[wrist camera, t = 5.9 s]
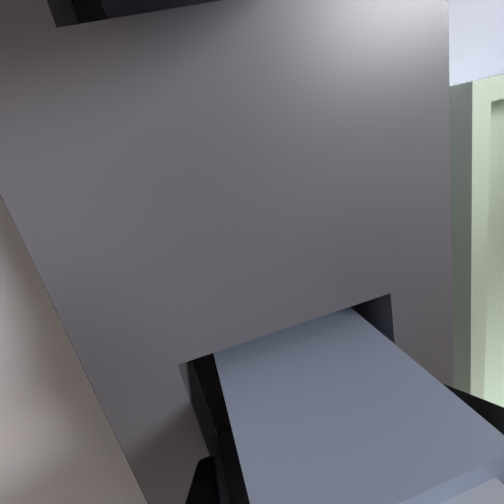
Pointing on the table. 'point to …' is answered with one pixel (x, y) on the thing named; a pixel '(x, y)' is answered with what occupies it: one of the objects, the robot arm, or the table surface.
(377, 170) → the strip
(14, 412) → the table surface
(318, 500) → the plug
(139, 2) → the twin plug
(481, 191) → the tray
